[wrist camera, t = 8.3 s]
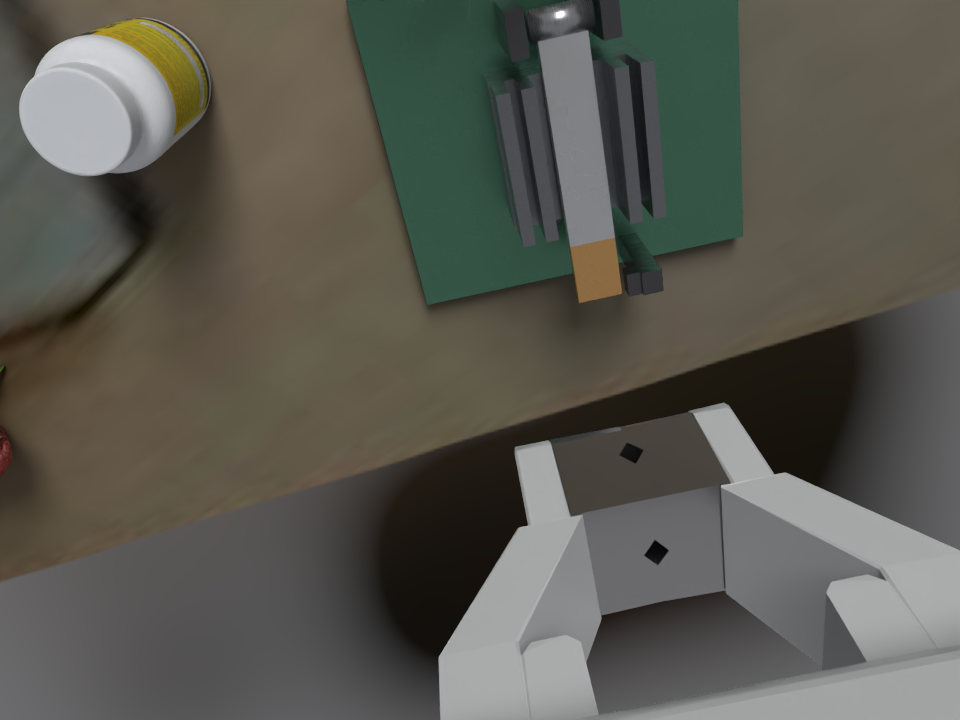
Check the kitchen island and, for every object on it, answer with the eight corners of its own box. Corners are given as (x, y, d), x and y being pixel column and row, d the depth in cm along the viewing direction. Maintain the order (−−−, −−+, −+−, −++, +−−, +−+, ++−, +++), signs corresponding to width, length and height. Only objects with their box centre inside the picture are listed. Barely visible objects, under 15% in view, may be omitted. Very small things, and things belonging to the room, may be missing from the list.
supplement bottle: (132, -12, 34) (42, 11, 26) (235, 71, 37) (182, 118, 28) (74, 81, 36) (-29, 131, 28) (174, 156, 38) (108, 223, 30)
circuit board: (427, 297, 43) (429, 353, 38) (347, -4, 35) (334, 11, 30) (736, 229, 43) (785, 276, 37) (727, -93, 35) (788, -94, 29)
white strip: (569, 296, 39) (574, 306, 38) (522, 10, 33) (526, 11, 32) (622, 284, 39) (629, 294, 38) (586, -4, 33) (592, -4, 31)
